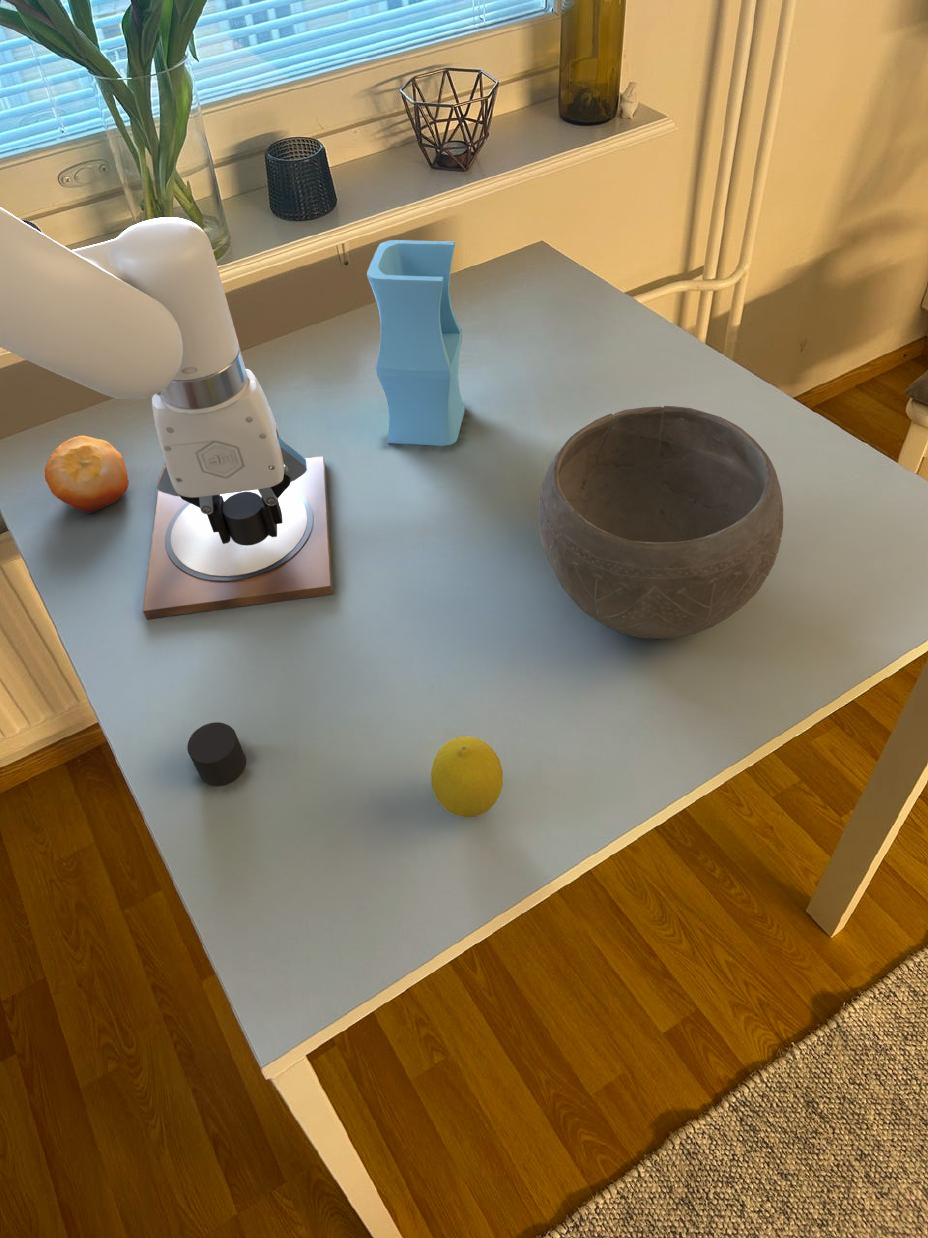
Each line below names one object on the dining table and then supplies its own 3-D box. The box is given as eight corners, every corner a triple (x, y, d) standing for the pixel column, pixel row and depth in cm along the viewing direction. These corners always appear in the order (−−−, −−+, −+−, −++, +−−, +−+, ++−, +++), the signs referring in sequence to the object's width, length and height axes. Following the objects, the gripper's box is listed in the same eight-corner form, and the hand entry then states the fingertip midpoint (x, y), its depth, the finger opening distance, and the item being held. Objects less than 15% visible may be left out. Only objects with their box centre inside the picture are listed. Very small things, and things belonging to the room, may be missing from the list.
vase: (455, 446, 105) (442, 281, 89) (387, 442, 106) (363, 278, 91) (466, 404, 110) (456, 240, 95) (401, 401, 111) (380, 238, 96)
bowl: (494, 585, 90) (488, 464, 79) (642, 487, 98) (656, 364, 87) (656, 717, 79) (677, 598, 68) (808, 594, 87) (849, 470, 76)
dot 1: (197, 789, 77) (185, 766, 74) (199, 749, 80) (188, 725, 77) (245, 782, 77) (235, 759, 75) (246, 742, 80) (237, 718, 77)
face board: (146, 619, 90) (142, 610, 89) (162, 484, 103) (159, 475, 102) (332, 594, 91) (330, 584, 90) (325, 464, 104) (323, 454, 103)
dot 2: (230, 548, 91) (220, 522, 89) (231, 520, 94) (222, 494, 91) (270, 542, 91) (262, 516, 89) (270, 515, 94) (263, 488, 91)
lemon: (516, 791, 75) (514, 735, 69) (482, 846, 72) (477, 793, 66) (457, 763, 77) (451, 707, 71) (421, 815, 74) (412, 761, 68)
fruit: (103, 447, 106) (98, 413, 98) (142, 503, 105) (139, 474, 98) (36, 479, 102) (25, 447, 95) (75, 537, 102) (67, 510, 95)
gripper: (95, 413, 76) (163, 569, 90) (299, 386, 77) (336, 545, 91) (105, 361, 81) (168, 516, 95) (298, 336, 82) (332, 494, 95)
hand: (250, 529), depth 92 cm, fingers closed on dot 2, 4 cm apart
